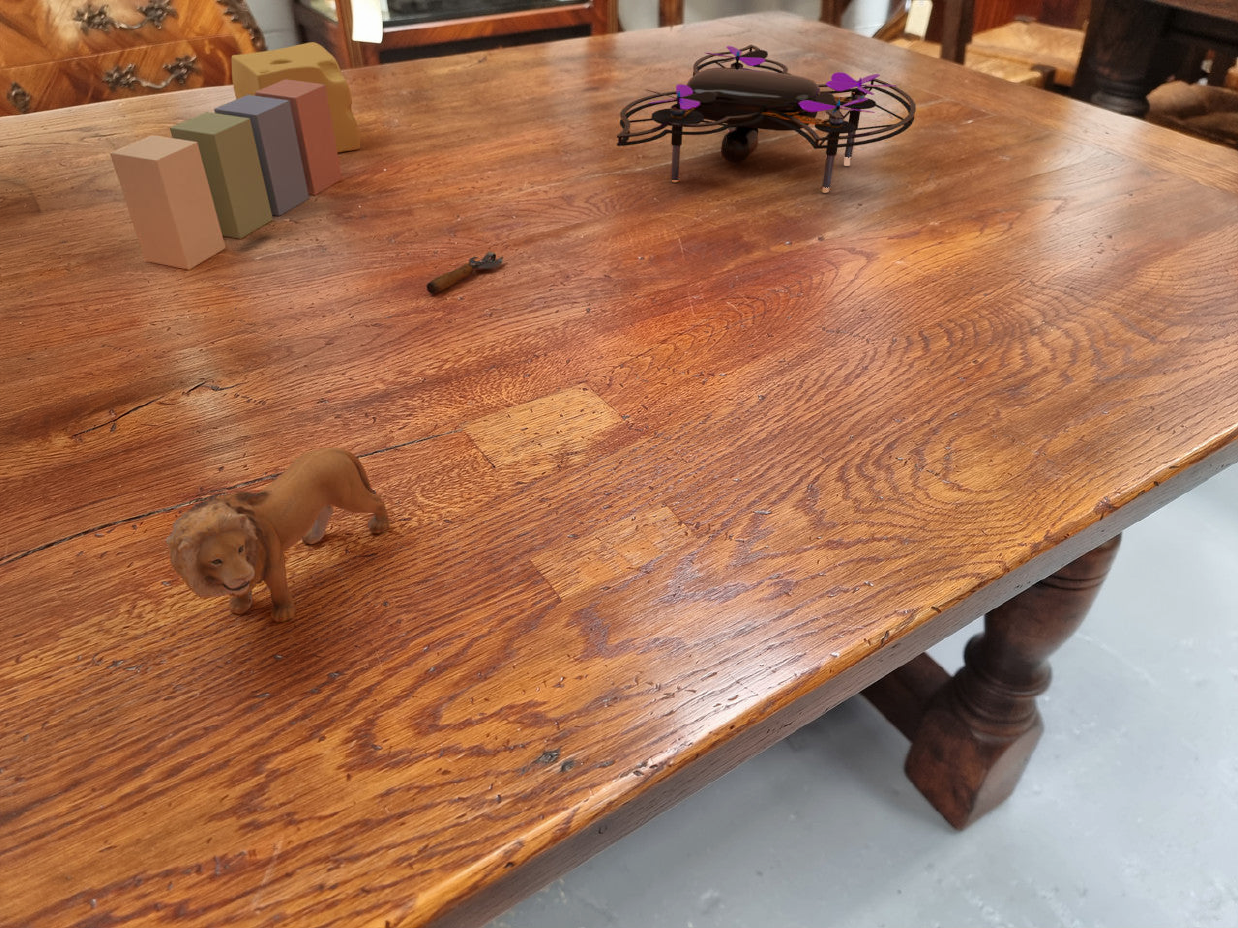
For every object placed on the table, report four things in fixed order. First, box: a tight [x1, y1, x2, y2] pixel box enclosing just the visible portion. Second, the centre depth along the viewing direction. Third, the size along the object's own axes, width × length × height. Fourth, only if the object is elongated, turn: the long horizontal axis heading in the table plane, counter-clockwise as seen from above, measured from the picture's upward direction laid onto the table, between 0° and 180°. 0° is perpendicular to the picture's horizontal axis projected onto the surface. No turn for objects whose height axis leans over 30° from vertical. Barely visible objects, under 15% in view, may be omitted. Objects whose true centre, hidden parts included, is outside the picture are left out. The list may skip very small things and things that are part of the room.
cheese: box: [231, 41, 361, 153], centre depth 107 cm, size 10×11×10 cm
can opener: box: [426, 251, 504, 295], centre depth 82 cm, size 9×2×1 cm, turn 140°
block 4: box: [255, 79, 343, 196], centre depth 97 cm, size 5×5×10 cm
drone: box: [616, 44, 917, 188], centre depth 102 cm, size 40×10×28 cm
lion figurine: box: [165, 447, 390, 623], centre depth 50 cm, size 15×5×9 cm, turn 161°
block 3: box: [213, 95, 310, 217], centre depth 93 cm, size 5×5×10 cm
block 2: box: [169, 111, 274, 240], centre depth 88 cm, size 5×5×10 cm
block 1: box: [109, 134, 226, 271], centre depth 83 cm, size 5×5×10 cm
